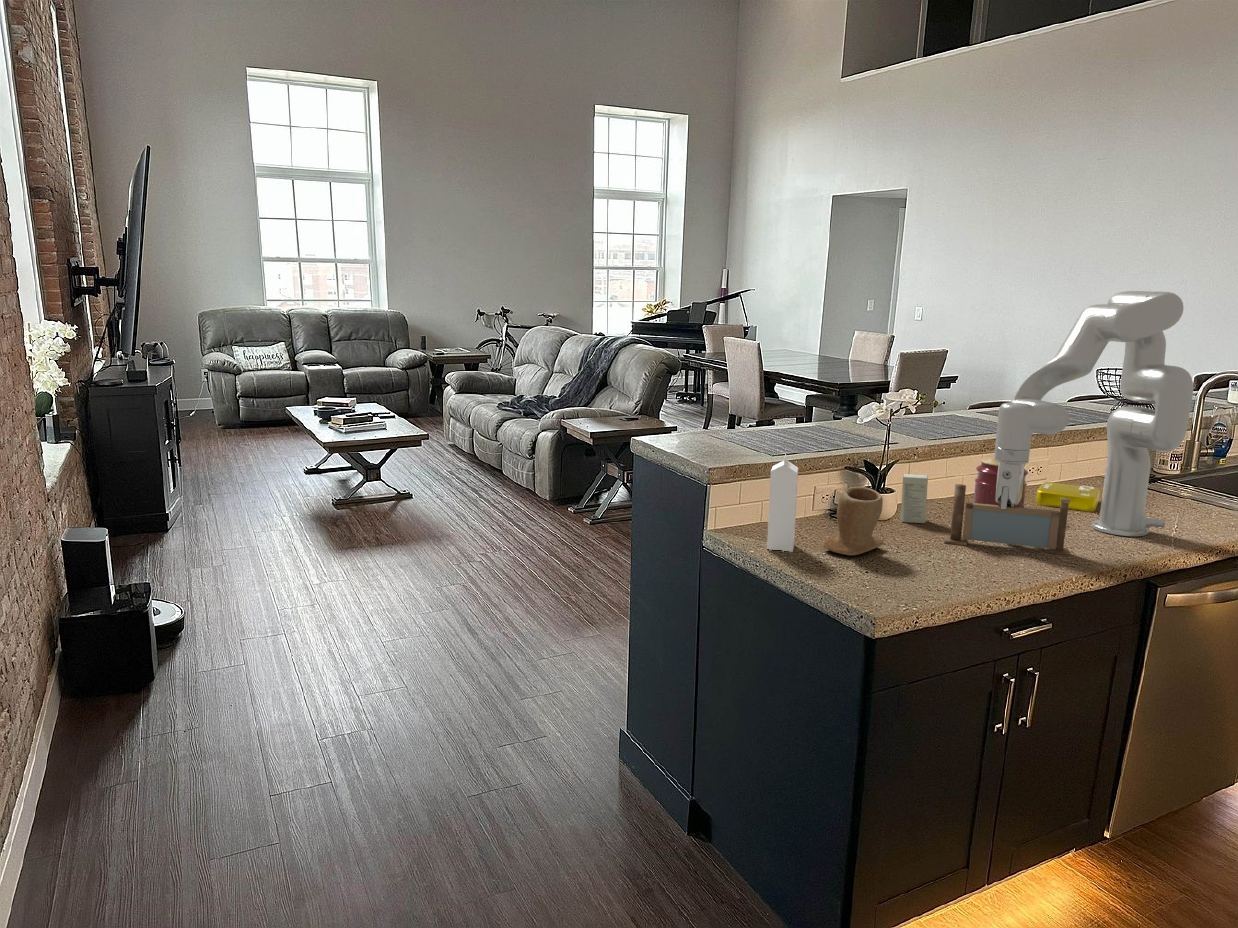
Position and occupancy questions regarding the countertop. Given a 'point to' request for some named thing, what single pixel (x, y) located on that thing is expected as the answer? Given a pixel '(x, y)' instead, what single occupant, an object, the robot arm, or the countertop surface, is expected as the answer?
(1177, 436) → the robot arm
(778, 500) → the milk
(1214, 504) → the countertop surface
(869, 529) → the stone cup
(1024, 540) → the panel
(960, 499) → the gate frame
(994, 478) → the canister
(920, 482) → the skincare box
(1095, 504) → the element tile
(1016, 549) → the countertop surface
